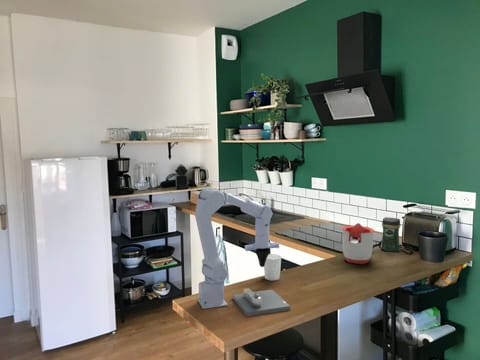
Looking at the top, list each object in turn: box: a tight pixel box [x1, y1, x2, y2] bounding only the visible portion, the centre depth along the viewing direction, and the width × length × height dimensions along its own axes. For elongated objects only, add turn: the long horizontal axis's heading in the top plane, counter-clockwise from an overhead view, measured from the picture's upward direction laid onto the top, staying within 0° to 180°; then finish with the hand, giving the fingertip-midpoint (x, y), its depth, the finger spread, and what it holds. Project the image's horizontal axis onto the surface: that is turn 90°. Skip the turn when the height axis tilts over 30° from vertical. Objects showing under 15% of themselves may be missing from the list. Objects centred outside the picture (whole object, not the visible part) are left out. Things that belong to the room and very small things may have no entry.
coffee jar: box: [380, 216, 401, 253], centre depth 222 cm, size 10×8×19 cm
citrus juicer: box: [341, 222, 375, 265], centre depth 201 cm, size 16×17×20 cm
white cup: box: [263, 253, 282, 281], centre depth 177 cm, size 8×8×10 cm
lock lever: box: [242, 287, 262, 308], centre depth 148 cm, size 12×4×3 cm, turn 21°
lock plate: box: [232, 289, 291, 317], centre depth 149 cm, size 17×16×6 cm
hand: (261, 266), depth 162 cm, fingers closed
